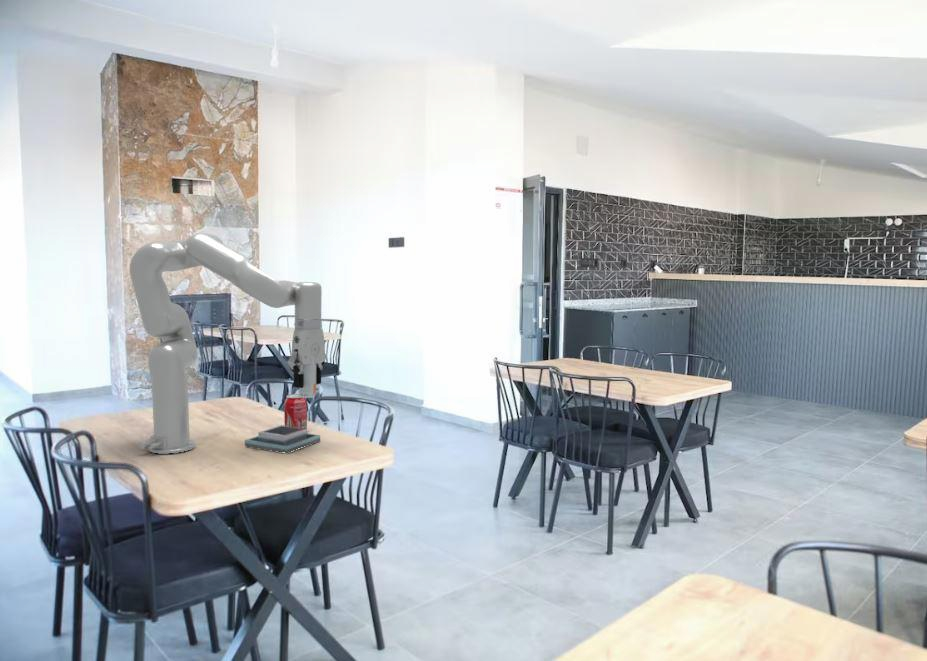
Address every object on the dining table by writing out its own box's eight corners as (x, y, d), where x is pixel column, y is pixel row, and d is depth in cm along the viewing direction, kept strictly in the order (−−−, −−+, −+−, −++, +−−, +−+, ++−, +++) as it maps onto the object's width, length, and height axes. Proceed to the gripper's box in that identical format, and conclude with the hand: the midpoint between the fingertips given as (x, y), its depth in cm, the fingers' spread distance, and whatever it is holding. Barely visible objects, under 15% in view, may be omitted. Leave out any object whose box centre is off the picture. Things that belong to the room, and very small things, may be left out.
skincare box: (313, 398, 194) (313, 357, 193) (298, 398, 193) (298, 356, 192) (316, 394, 200) (317, 354, 199) (302, 393, 200) (302, 353, 198)
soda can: (287, 429, 220) (287, 393, 219) (309, 429, 220) (308, 393, 219) (282, 435, 213) (281, 397, 212) (304, 435, 213) (304, 397, 212)
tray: (287, 453, 192) (286, 439, 192) (244, 446, 199) (244, 432, 199) (320, 441, 206) (320, 428, 205) (279, 435, 213) (279, 422, 212)
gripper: (298, 328, 185) (297, 391, 187) (337, 323, 201) (336, 382, 202) (277, 326, 188) (276, 388, 190) (317, 322, 204) (316, 379, 206)
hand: (307, 384), depth 196 cm, fingers closed on skincare box, 7 cm apart
